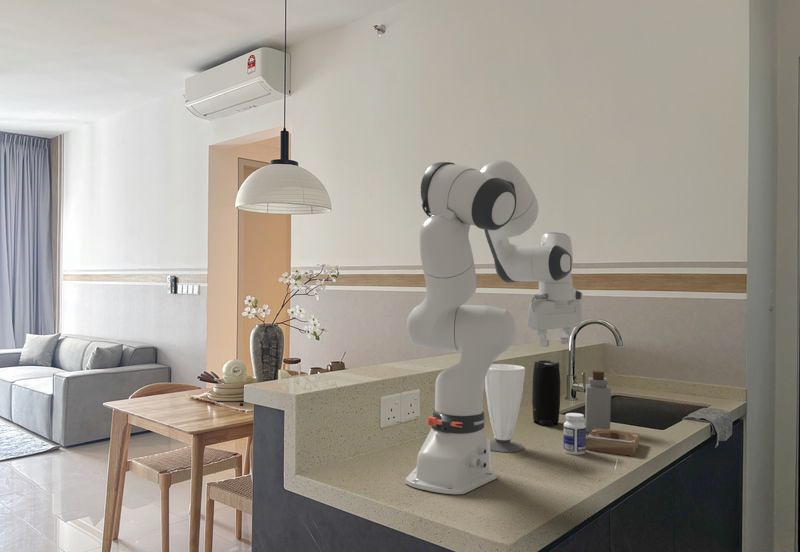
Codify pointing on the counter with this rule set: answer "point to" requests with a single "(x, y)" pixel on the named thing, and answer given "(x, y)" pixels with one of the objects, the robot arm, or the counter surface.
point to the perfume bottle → (597, 402)
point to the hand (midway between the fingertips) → (554, 345)
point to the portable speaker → (546, 392)
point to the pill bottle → (574, 434)
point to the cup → (504, 404)
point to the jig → (612, 441)
